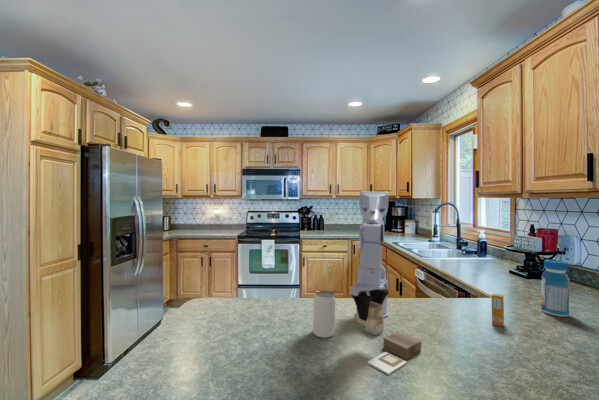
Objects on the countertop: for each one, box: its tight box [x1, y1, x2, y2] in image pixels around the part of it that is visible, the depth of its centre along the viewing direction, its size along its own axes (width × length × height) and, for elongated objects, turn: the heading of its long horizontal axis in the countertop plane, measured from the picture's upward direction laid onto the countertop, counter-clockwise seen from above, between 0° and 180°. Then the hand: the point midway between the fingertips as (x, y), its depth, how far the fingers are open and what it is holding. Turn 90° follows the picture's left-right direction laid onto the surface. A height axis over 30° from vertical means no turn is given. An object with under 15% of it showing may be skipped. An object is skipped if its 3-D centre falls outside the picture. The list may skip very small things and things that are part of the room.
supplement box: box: [491, 293, 505, 328], centre depth 97 cm, size 3×3×10 cm
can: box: [312, 290, 336, 339], centre depth 86 cm, size 6×6×12 cm
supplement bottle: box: [540, 259, 571, 317], centre depth 110 cm, size 8×8×20 cm
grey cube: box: [364, 318, 385, 336], centre depth 89 cm, size 4×4×4 cm
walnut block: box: [383, 331, 422, 360], centre depth 78 cm, size 7×7×3 cm
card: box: [366, 351, 407, 376], centre depth 70 cm, size 8×6×1 cm
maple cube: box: [355, 301, 384, 328], centre depth 78 cm, size 5×5×5 cm
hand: (369, 317), depth 78 cm, fingers closed on maple cube, 5 cm apart
